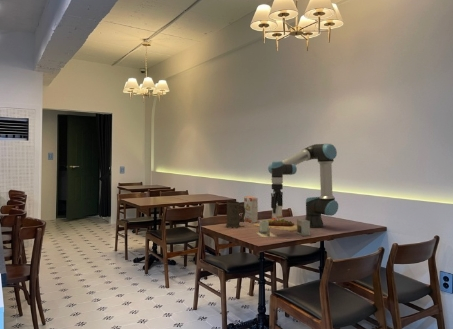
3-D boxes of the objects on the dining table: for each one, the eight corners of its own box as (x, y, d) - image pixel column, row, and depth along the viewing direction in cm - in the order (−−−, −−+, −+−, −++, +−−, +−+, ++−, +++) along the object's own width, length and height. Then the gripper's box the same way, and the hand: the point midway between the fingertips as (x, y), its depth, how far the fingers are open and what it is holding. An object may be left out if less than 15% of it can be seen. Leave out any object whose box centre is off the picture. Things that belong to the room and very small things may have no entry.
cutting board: (252, 226, 289) (252, 217, 288) (273, 223, 303) (273, 214, 303) (284, 233, 261) (284, 223, 261) (305, 229, 275) (305, 219, 275)
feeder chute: (304, 233, 259) (304, 219, 259) (309, 235, 251) (309, 221, 251) (296, 233, 257) (296, 219, 257) (301, 235, 250) (301, 221, 249)
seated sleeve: (266, 231, 256) (266, 220, 256) (269, 233, 251) (269, 222, 251) (258, 232, 255) (258, 221, 255) (261, 233, 249) (261, 222, 249)
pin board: (269, 233, 258) (269, 224, 257) (277, 238, 242) (277, 228, 242) (254, 234, 255) (254, 225, 255) (262, 239, 239) (262, 229, 239)
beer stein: (228, 228, 277) (229, 202, 277) (223, 225, 287) (224, 200, 287) (246, 228, 283) (248, 202, 283) (240, 225, 293) (242, 201, 293)
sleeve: (282, 217, 248) (282, 205, 248) (279, 218, 243) (279, 206, 243) (275, 216, 251) (275, 205, 251) (271, 217, 246) (271, 206, 246)
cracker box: (243, 220, 312) (243, 196, 312) (250, 220, 315) (250, 196, 314) (251, 223, 299) (251, 198, 299) (257, 222, 302) (257, 197, 301)
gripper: (278, 182, 257) (277, 215, 257) (265, 184, 241) (265, 218, 242) (287, 183, 253) (287, 216, 253) (276, 184, 237) (275, 219, 237)
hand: (276, 217), depth 247 cm, fingers closed on sleeve, 6 cm apart
